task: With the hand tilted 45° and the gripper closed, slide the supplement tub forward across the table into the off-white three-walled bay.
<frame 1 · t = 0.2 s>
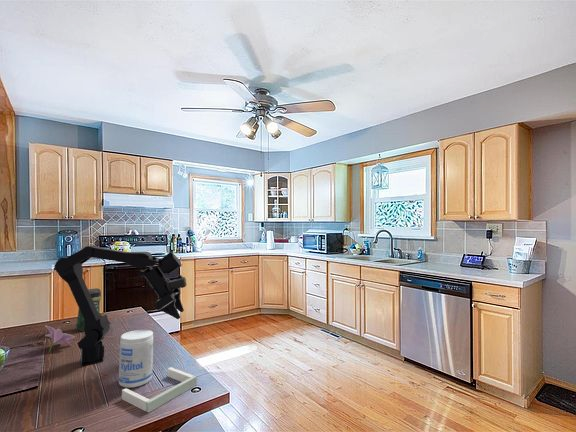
hand: (181, 314, 117), 15 cm above the table, tool tilted 35°, fingers open, 9 cm apart
supplement tub: (136, 381, 97), on the table
coffee jar: (88, 328, 146), on the table
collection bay: (156, 389, 92), on the table
lily: (58, 349, 123), on the table
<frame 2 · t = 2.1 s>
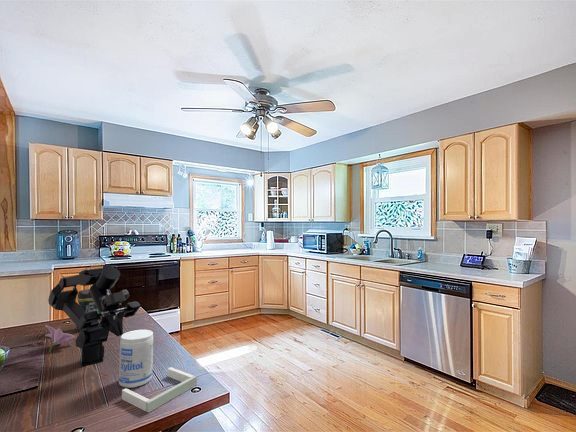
hand: (120, 335, 102), 13 cm above the table, tool tilted 45°, fingers closed
nothing on the table moved.
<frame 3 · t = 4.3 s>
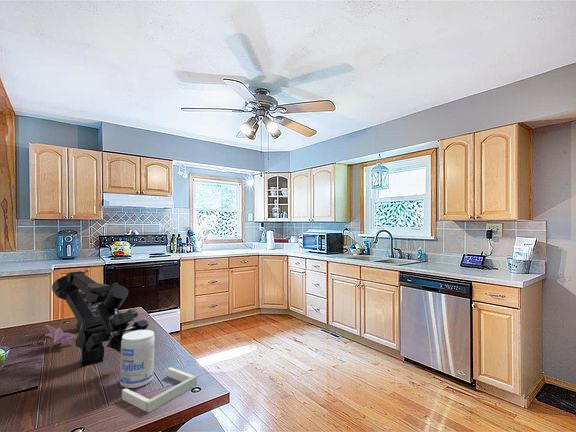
hand: (129, 356, 99), 7 cm above the table, tool tilted 45°, fingers closed, pressing on supplement tub
supplement tub: (137, 382, 97), on the table, touching gripper
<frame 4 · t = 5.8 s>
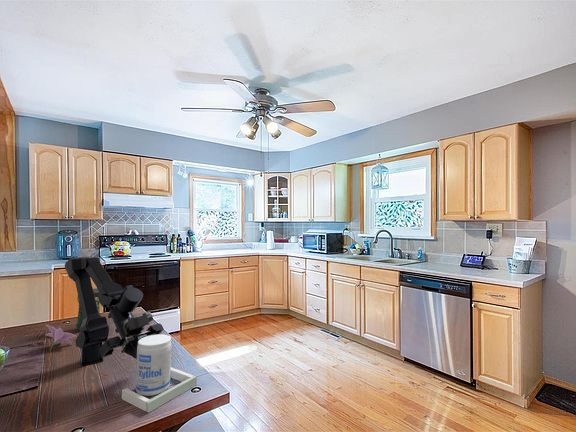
hand: (144, 362, 95), 7 cm above the table, tool tilted 45°, fingers closed, pressing on supplement tub
supplement tub: (153, 389, 93), on the table, touching gripper
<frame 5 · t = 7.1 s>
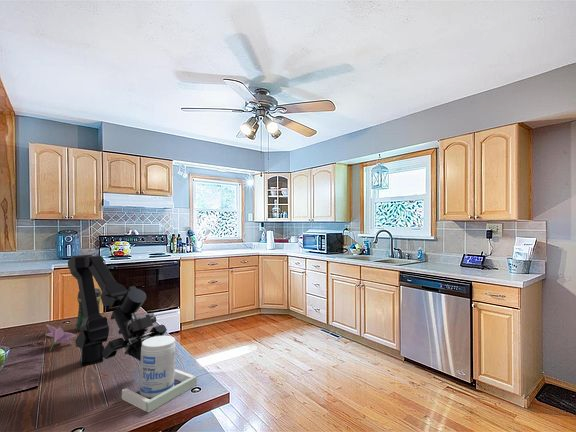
hand: (148, 363, 94), 7 cm above the table, tool tilted 45°, fingers closed
supplement tub: (157, 391, 92), on the table
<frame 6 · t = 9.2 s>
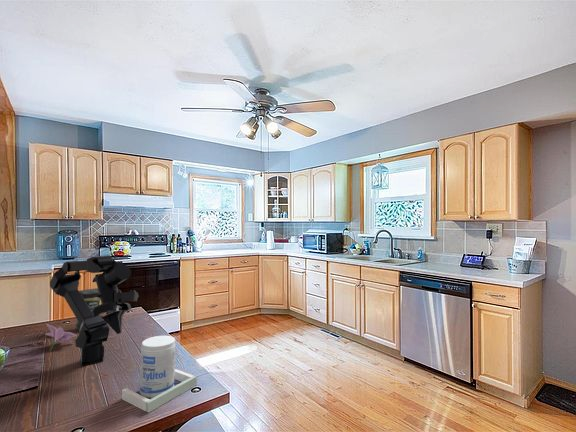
hand: (119, 333, 104), 12 cm above the table, tool tilted 25°, fingers closed
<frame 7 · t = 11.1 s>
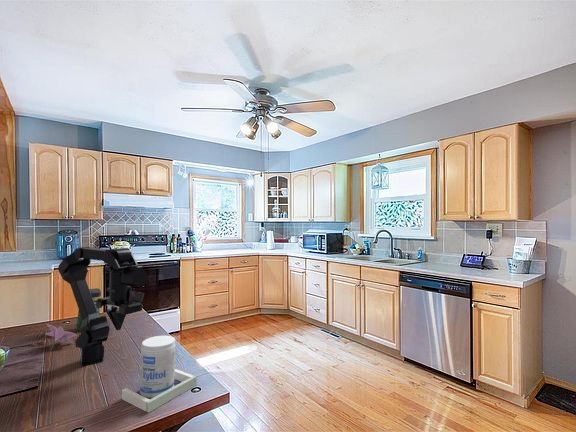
hand: (118, 329, 106), 13 cm above the table, tool pointing down, fingers closed
at the end: supplement tub inside the target area on the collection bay (0.6 cm from its centre), point 0.0 cm above the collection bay's base; supplement tub tilted 0° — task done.
